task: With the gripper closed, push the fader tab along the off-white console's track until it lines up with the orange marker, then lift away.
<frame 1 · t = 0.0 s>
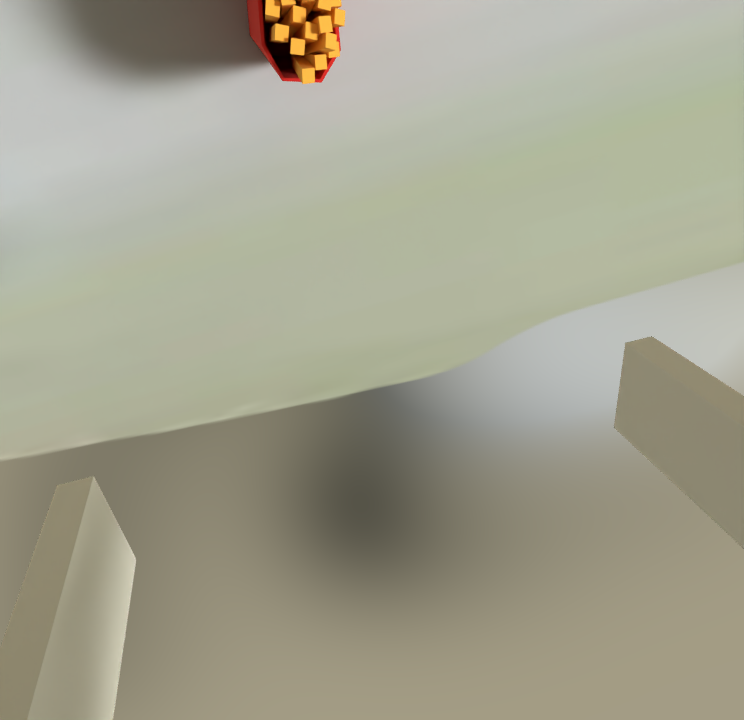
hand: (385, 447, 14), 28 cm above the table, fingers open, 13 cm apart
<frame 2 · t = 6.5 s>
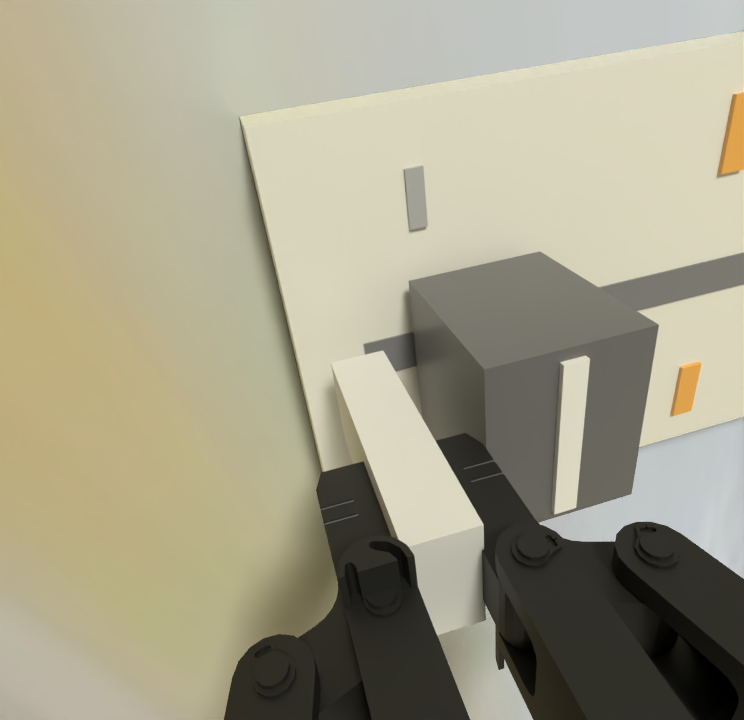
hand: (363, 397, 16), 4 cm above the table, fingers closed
fader tab: (517, 385, 15), point 6 cm above the table, slide at 1.5 cm, touching gripper
console: (608, 264, 20), on the table
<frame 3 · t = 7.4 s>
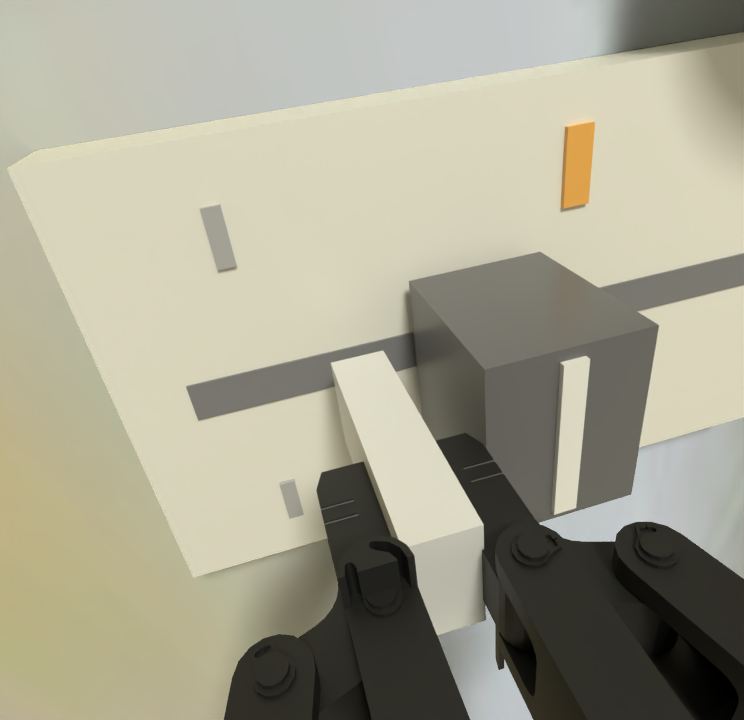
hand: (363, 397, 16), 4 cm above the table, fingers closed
fader tab: (517, 385, 15), point 6 cm above the table, slide at 6.7 cm, touching gripper
console: (477, 295, 20), on the table
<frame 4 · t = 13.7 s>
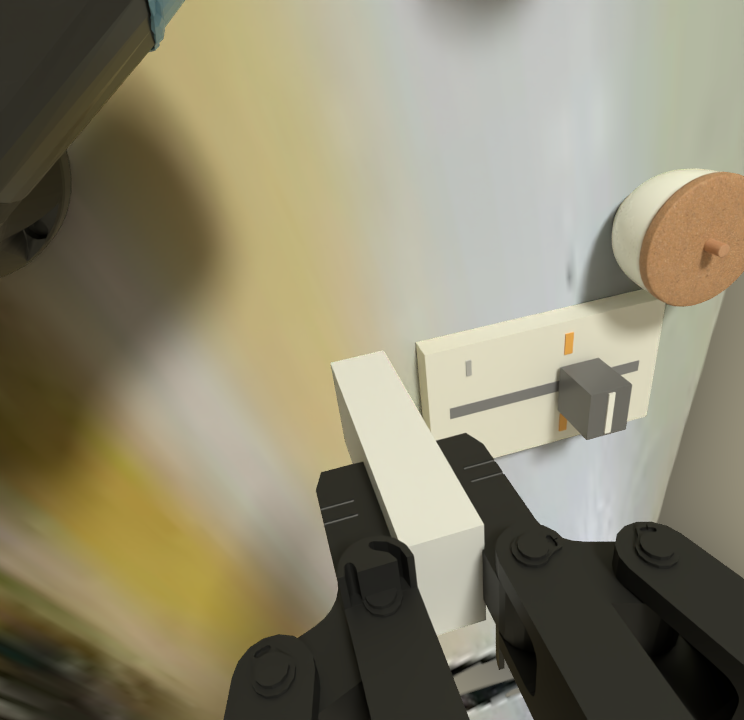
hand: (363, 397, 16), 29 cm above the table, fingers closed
fader tab: (593, 398, 51), point 6 cm above the table, slide at 11.0 cm
console: (534, 375, 56), on the table
lidded jar: (641, 218, 50), on the table
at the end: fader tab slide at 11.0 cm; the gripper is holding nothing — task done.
